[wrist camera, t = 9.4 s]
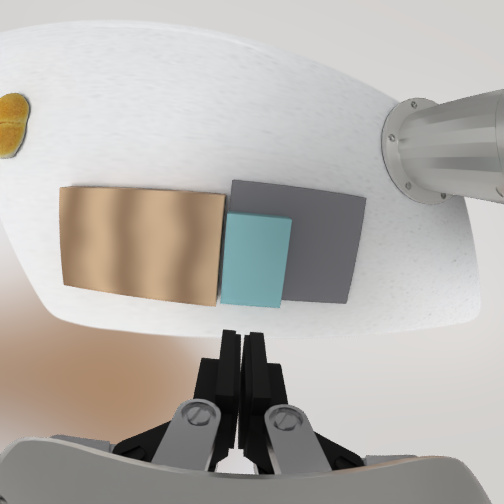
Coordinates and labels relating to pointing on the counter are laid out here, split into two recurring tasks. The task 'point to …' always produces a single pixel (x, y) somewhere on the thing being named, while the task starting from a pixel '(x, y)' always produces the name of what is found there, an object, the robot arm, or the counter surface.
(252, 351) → the robot arm
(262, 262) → the teal tile
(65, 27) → the counter surface
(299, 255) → the charcoal mat
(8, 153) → the bread roll
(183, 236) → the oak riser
